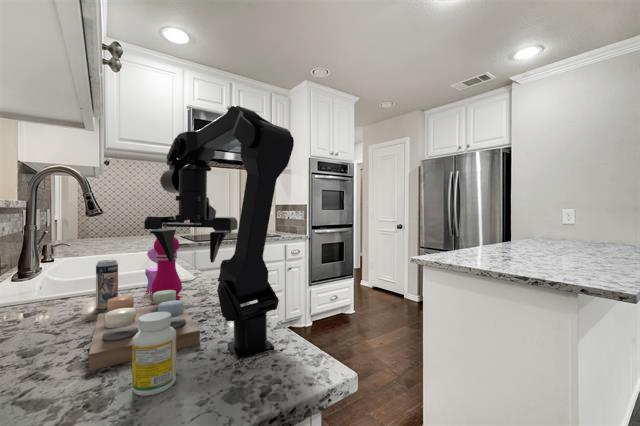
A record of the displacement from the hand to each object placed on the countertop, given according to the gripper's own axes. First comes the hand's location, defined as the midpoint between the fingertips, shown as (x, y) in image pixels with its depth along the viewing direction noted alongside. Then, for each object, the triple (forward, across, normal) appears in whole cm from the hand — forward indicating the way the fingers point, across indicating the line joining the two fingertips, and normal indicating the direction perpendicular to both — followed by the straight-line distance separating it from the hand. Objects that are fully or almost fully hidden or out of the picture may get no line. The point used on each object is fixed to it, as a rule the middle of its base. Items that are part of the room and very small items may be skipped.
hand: (192, 261), depth 65 cm
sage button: (+9, +6, +1) cm, 10 cm away
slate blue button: (+9, 0, +9) cm, 12 cm away
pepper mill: (+14, +12, -12) cm, 22 cm away
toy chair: (+14, +20, -24) cm, 35 cm away
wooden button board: (+13, +6, +7) cm, 16 cm away
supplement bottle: (+13, -6, +24) cm, 28 cm away
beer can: (+14, +26, -10) cm, 32 cm away
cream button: (+9, +6, +14) cm, 17 cm away
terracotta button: (+9, +12, +5) cm, 16 cm away
